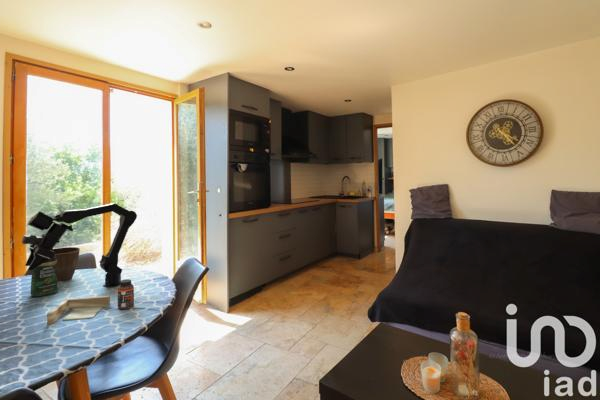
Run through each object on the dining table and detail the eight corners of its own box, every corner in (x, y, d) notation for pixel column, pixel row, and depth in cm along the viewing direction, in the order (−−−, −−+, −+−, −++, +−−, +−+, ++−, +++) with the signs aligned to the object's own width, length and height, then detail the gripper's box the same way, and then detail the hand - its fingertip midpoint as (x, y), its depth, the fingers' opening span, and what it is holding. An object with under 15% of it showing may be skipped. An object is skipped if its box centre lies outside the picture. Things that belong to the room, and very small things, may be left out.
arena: (66, 308, 120) (66, 299, 120) (110, 304, 125) (109, 295, 124) (47, 324, 107) (46, 313, 107) (96, 319, 111) (96, 309, 111)
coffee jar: (34, 298, 129) (31, 257, 128) (28, 295, 133) (25, 255, 132) (61, 291, 137) (58, 252, 136) (55, 289, 141) (52, 251, 140)
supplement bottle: (126, 310, 119) (125, 283, 119) (114, 308, 121) (113, 282, 120) (137, 304, 125) (136, 278, 125) (125, 303, 126) (125, 277, 126)
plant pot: (85, 278, 156) (84, 249, 155) (50, 287, 143) (49, 255, 142) (73, 273, 164) (73, 246, 163) (39, 281, 151) (38, 251, 150)
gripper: (29, 224, 130) (3, 256, 124) (36, 229, 118) (7, 265, 112) (56, 235, 137) (32, 266, 131) (65, 241, 125) (39, 275, 119)
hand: (27, 267), depth 123 cm, fingers open, 8 cm apart
